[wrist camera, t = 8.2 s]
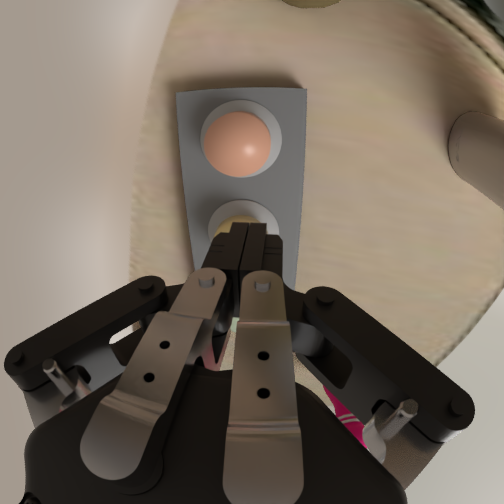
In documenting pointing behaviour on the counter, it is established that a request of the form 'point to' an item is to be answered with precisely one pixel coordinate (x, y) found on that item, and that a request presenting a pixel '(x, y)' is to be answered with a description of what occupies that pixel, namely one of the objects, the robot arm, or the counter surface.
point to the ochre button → (227, 223)
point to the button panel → (251, 186)
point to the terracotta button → (237, 143)
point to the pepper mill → (347, 417)
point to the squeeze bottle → (311, 3)
